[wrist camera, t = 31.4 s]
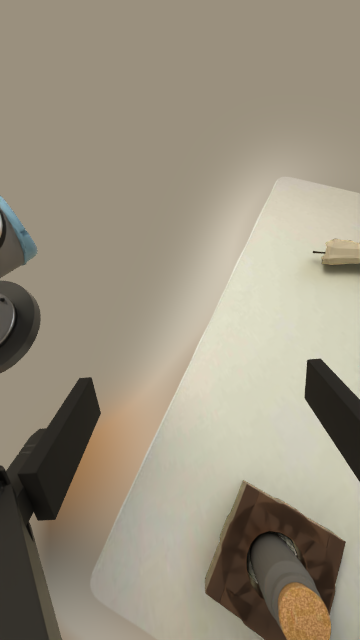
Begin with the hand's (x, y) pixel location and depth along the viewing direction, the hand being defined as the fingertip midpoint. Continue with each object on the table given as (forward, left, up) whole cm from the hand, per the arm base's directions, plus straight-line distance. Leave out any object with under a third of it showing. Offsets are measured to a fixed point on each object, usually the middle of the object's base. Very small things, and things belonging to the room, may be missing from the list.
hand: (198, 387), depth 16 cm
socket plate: (+9, -18, -34) cm, 39 cm away
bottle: (+9, -18, -34) cm, 40 cm away
